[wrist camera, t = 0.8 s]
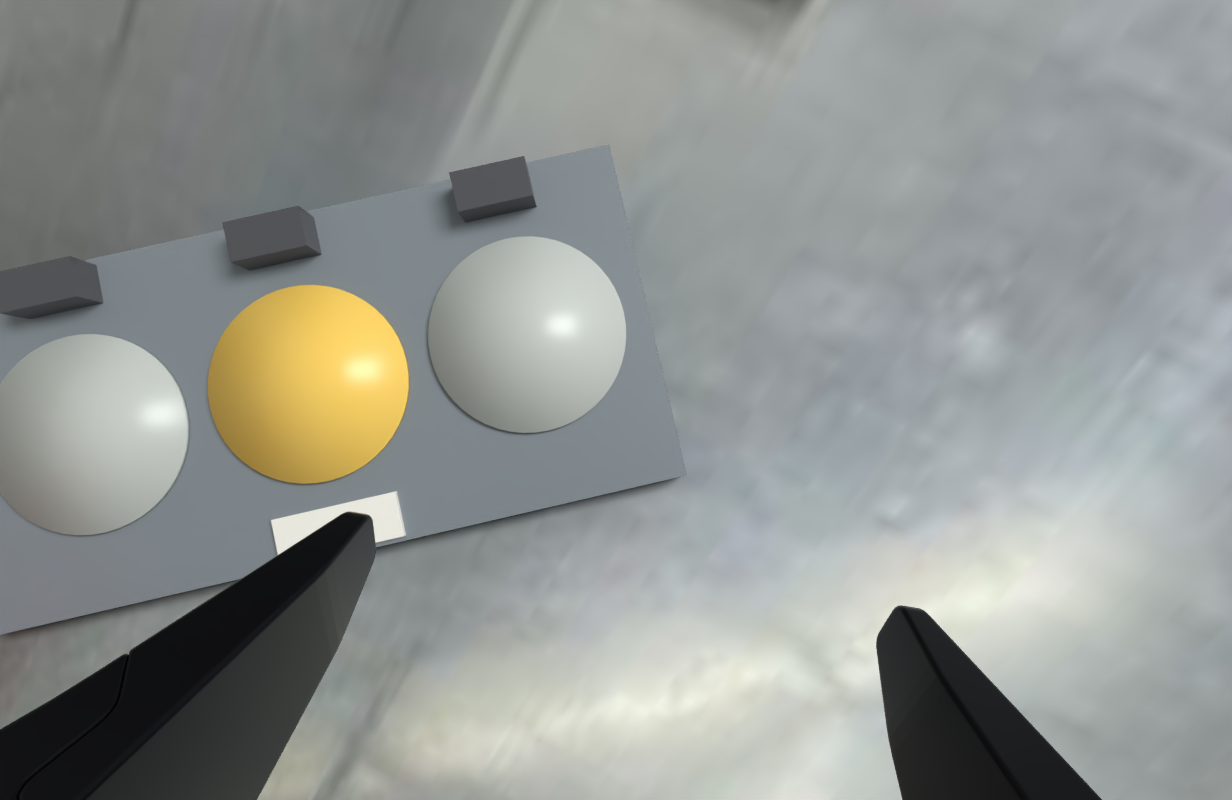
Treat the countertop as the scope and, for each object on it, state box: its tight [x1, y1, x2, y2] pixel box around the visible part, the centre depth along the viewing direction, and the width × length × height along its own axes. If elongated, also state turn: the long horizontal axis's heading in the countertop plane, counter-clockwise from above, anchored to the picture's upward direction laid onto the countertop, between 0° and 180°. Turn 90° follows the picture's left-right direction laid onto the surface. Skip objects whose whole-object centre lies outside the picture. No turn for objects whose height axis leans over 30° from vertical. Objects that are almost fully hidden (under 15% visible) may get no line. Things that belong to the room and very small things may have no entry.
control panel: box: [0, 145, 687, 635], centre depth 24 cm, size 28×14×2 cm, turn 103°
